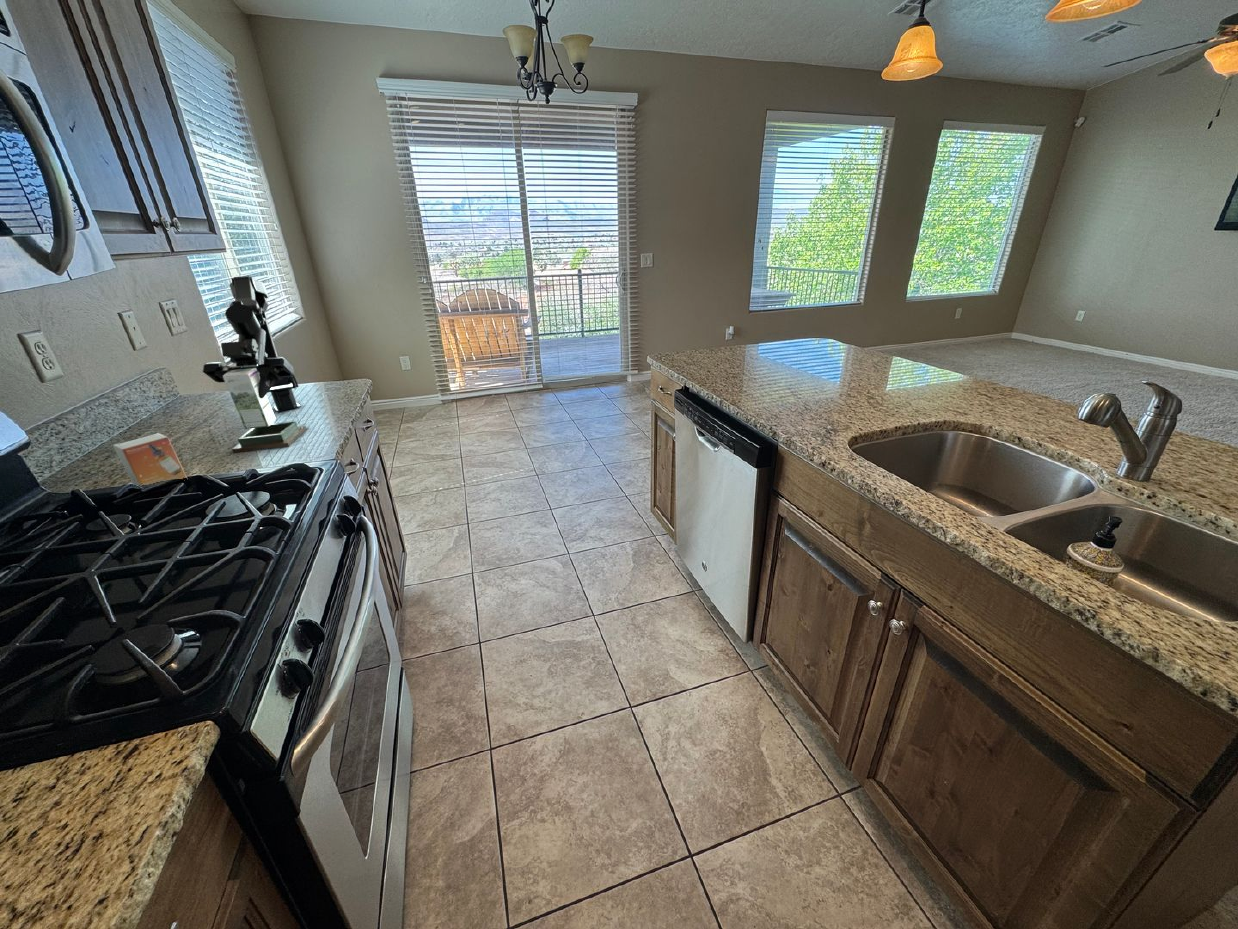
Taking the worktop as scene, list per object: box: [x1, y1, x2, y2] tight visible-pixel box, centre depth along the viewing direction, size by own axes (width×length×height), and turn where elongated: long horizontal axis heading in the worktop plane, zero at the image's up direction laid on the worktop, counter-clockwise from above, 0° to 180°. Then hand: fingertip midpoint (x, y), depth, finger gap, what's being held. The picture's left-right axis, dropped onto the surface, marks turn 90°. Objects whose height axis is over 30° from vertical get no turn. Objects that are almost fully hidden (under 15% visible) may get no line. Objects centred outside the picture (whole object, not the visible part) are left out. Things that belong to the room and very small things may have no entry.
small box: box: [112, 432, 188, 486], centre depth 106 cm, size 8×6×10 cm
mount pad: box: [231, 421, 308, 454], centre depth 129 cm, size 13×13×3 cm
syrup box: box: [223, 368, 277, 430], centre depth 125 cm, size 6×6×14 cm
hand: (247, 398), depth 123 cm, fingers closed on syrup box, 6 cm apart
